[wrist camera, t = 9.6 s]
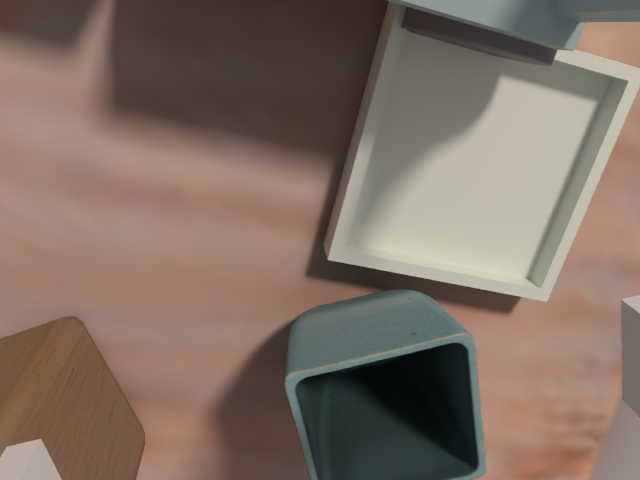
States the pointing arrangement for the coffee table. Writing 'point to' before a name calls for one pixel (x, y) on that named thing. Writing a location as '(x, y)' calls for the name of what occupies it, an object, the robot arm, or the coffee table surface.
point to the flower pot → (385, 390)
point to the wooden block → (67, 403)
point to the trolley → (513, 24)
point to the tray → (474, 161)
